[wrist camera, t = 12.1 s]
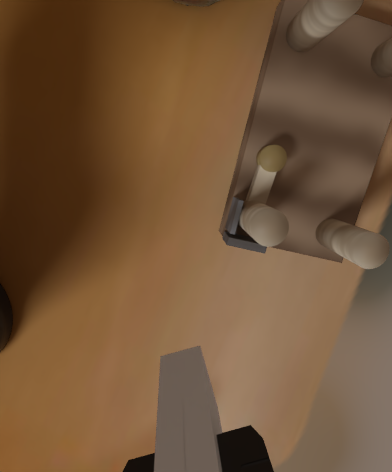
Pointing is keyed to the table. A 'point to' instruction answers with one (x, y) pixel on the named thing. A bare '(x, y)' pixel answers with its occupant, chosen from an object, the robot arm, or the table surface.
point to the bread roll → (196, 2)
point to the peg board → (318, 129)
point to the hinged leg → (264, 200)
